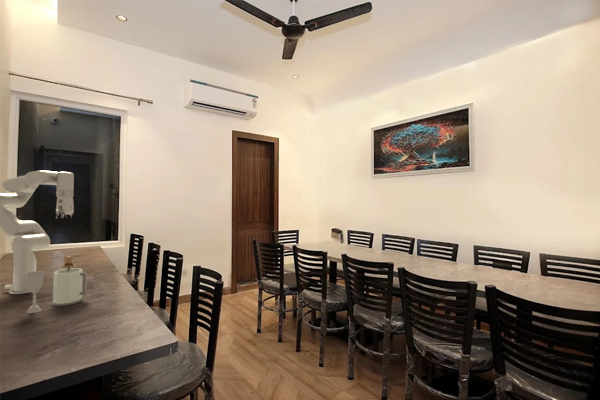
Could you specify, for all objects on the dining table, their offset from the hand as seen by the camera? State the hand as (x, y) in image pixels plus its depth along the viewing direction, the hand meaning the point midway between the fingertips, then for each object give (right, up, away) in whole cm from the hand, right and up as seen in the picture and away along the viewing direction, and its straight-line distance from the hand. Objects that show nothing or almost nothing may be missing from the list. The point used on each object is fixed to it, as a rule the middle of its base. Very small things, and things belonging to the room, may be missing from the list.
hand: (64, 224), depth 166 cm
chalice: (+8, -38, -27) cm, 48 cm away
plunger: (+13, -37, -14) cm, 41 cm away
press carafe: (+13, -38, -14) cm, 43 cm away
